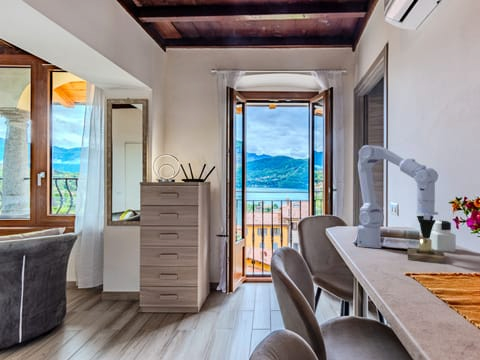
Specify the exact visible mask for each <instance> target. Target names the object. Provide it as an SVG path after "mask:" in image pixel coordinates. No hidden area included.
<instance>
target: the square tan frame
mask: <svg viewBox="0 0 480 360" xmlns="http://www.w3.org/2000/svg"><path fill="white" fill-rule="evenodd" d="M406 251H407V253H406V254H407V260H408V261H417V262H426V263H436V264H447V257H446V256H445V253H444V252H443V251H442V250H434V249H431V255H429V254H419V247H417V248H416V247H407V250H406Z"/></svg>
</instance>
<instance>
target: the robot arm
mask: <svg viewBox="0 0 480 360" xmlns="http://www.w3.org/2000/svg"><path fill="white" fill-rule="evenodd" d="M383 159H384V160H386V161H387V162H390V163H392V164H394V165H396V166H398V168H399V170H400V172H402V173H403V174H406V175H407V176H409V177H411V178H413V179H414V181H415V182H416V187H417V191H416V192H417V193H416V194H417V197H416V199H417V201H416V203H417V205H416V206H417V209H416V214H417V215H416V217H417V221H418V223H419V227H420V232H421V235H422V238H426V239H429V238H430V235H431V231H433V230H432V229H433V228H434V223H435V221H436V219H434V216H435V215H439V212H438V211H437V212H436V211H435V209H436V207H435V204H436V202H435V201H436V182H437V180H438V178H439V174H438V172H437V170H435V169H434V168H432V167H429V168H428V167H427V165H425V164H420V163H418V162H417V161H416V159H414V158H405V159H404V158H403V157H401V156H399V155H398V154H396V153H394V152H393V151H391V150H390V149H388V148H387V147H384V146H382V145H368V144H365V145H363V146H361V148H360V149H359V150H358V162H357V170H358V178H359V185H360V190H361V198H362V203H363V205H362V206H361V207H360V208H359V217H358V218H359V222H360V224H361V225H360V224H359V225H357V238H356V239H357V245H356V246H357V247H364V248H373V249H374V248H375V249H381V248H382V243H381V227H382V223H383V222H384V220H385V215H384V212H383V211H382V208H381V206H380V205H379V204H378V202H377V198H376V190H375V185H374V177H373V172H372V168H373V167H374V166H375V164H376V163H378V162H380V161H382V160H383Z"/></svg>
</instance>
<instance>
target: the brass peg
mask: <svg viewBox="0 0 480 360" xmlns="http://www.w3.org/2000/svg"><path fill="white" fill-rule="evenodd" d="M418 241H419V243H418V244H419V247H418V248H419V254H429V255H431V250H432V240H431V239H429V238H423V237H422V238H419V240H418Z"/></svg>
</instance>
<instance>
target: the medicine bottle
mask: <svg viewBox="0 0 480 360" xmlns="http://www.w3.org/2000/svg"><path fill="white" fill-rule="evenodd" d="M451 230H452V223H451V222H449V221H448V220H435V223H434V225H433V230H431V235H430V238H428V239H431V240H432V248H431V250H442V251H443V253H444V252H446V253H447V252H448V253H449V252H452V253H455V252H456V248H457V247H456V246H457V245H456V242H457V241H456V240H457V239H456V238H457V237H456V236H457V235H456V234H455V233H452V232H451Z"/></svg>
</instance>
